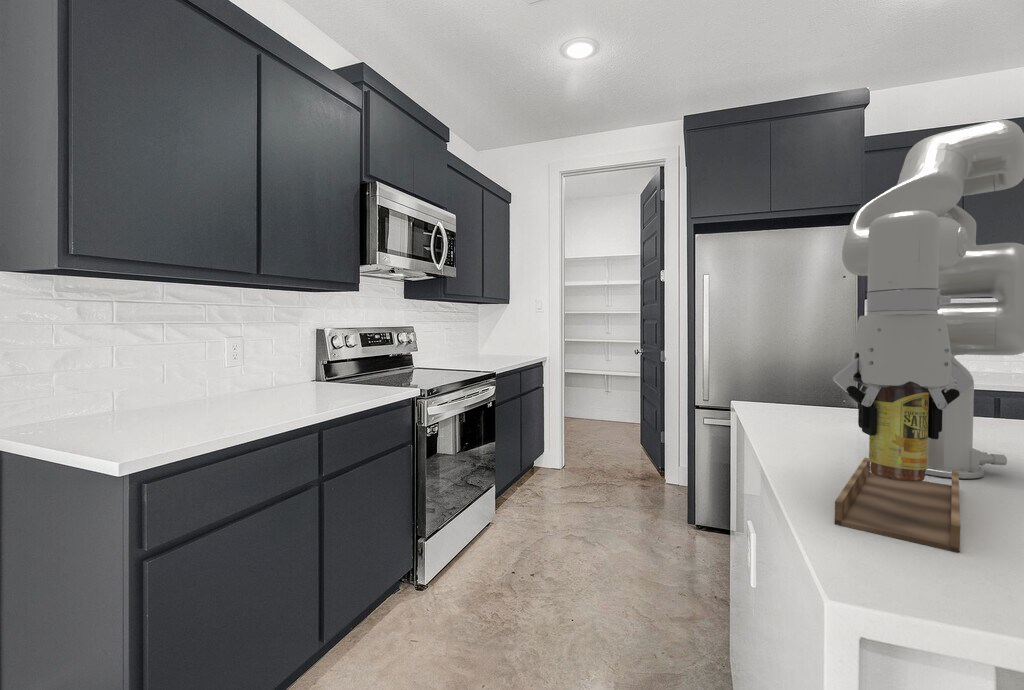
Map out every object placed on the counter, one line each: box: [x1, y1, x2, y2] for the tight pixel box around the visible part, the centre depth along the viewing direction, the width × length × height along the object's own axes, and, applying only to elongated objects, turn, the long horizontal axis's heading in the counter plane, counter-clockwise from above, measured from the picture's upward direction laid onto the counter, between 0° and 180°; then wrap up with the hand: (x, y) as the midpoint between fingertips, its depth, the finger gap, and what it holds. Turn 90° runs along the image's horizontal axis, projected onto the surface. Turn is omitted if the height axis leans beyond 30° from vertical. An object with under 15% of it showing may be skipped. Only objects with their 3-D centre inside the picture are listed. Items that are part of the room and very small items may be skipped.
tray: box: [834, 457, 961, 553], centre depth 72 cm, size 30×13×3 cm, turn 137°
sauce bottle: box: [868, 381, 929, 482], centre depth 65 cm, size 7×6×20 cm
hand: (898, 434), depth 65 cm, fingers closed on sauce bottle, 6 cm apart
